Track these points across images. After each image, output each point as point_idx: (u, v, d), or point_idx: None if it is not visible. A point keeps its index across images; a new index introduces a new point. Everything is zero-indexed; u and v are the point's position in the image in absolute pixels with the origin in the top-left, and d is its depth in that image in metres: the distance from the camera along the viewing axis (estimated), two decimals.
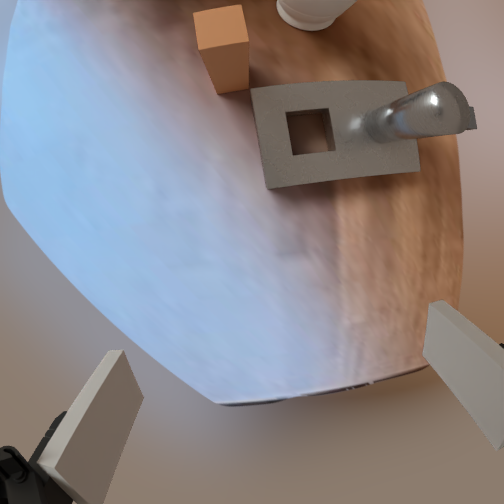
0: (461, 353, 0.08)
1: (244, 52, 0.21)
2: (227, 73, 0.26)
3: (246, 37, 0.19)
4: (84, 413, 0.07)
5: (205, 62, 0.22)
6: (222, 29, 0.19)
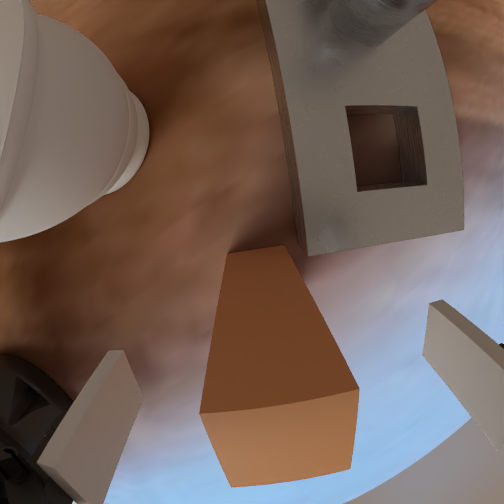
0: (461, 353, 0.08)
1: None
2: None
3: (343, 395, 0.07)
4: (84, 413, 0.07)
5: None
6: (302, 445, 0.07)
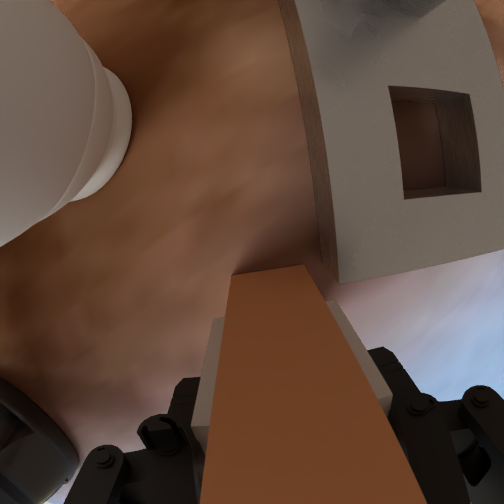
0: None
1: None
2: None
3: None
4: None
5: None
6: None
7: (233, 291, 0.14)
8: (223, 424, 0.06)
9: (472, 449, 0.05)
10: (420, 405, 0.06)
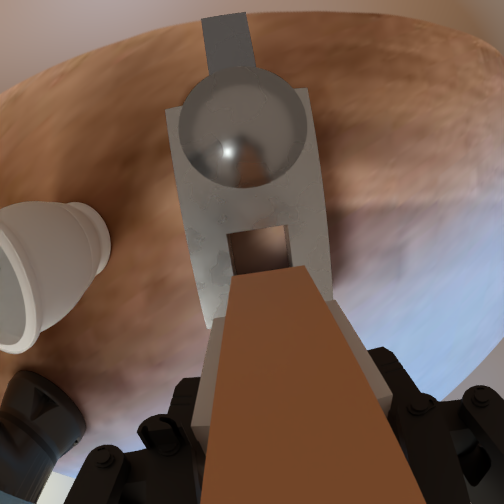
0: None
1: None
2: None
3: None
4: None
5: None
6: None
7: (233, 292, 0.14)
8: (223, 426, 0.06)
9: (472, 449, 0.05)
10: (420, 405, 0.06)
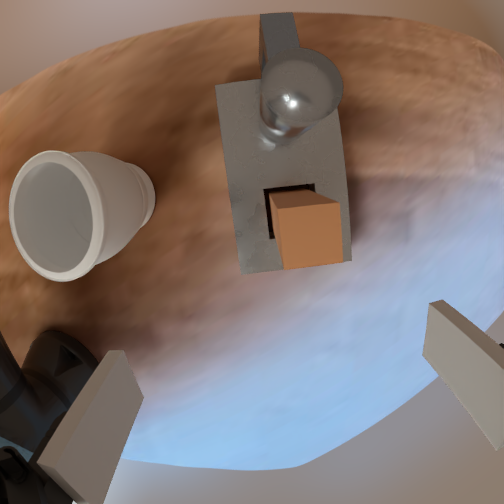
0: (461, 353, 0.08)
1: None
2: None
3: (333, 205, 0.18)
4: (84, 413, 0.07)
5: None
6: (318, 234, 0.19)
7: (271, 193, 0.31)
8: (277, 201, 0.23)
9: None
10: None
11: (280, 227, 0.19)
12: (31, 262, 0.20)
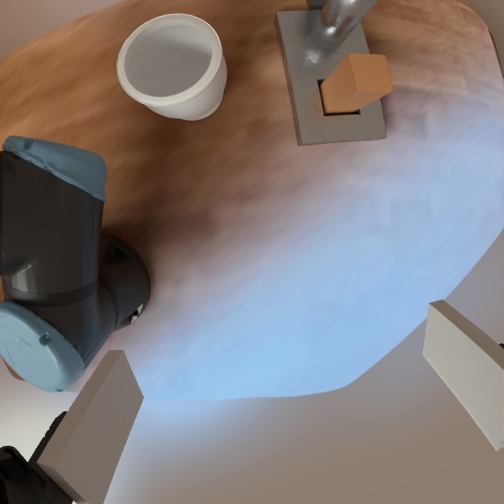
0: (461, 353, 0.08)
1: None
2: None
3: (381, 56, 0.23)
4: (84, 413, 0.07)
5: None
6: (375, 71, 0.23)
7: None
8: None
9: None
10: None
11: (351, 63, 0.23)
12: (136, 93, 0.23)
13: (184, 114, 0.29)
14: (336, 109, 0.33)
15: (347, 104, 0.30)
